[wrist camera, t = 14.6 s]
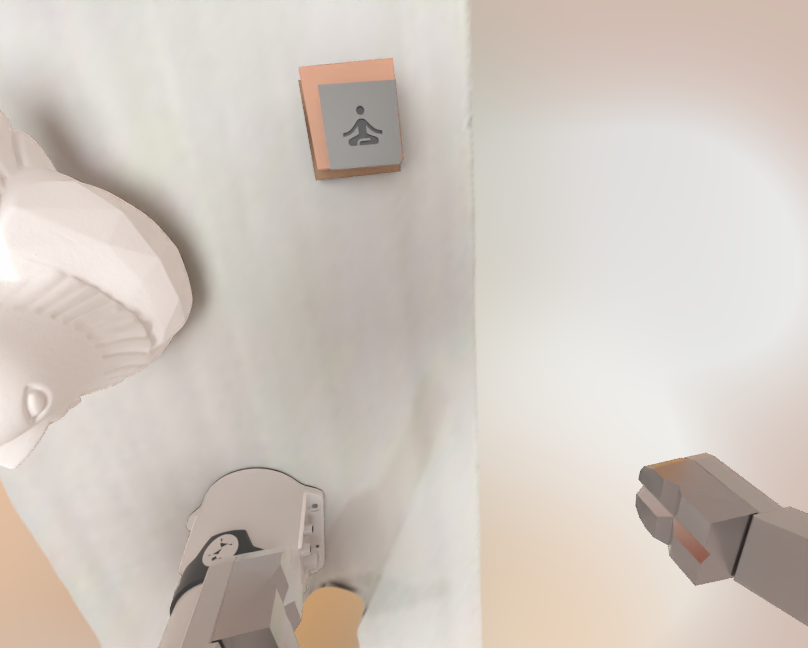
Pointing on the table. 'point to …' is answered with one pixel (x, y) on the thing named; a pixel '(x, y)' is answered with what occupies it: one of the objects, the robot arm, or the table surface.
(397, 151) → the dice cube
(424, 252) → the table surface
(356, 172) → the walnut base block
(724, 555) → the robot arm
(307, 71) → the terracotta top block
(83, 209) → the decorative rooster
